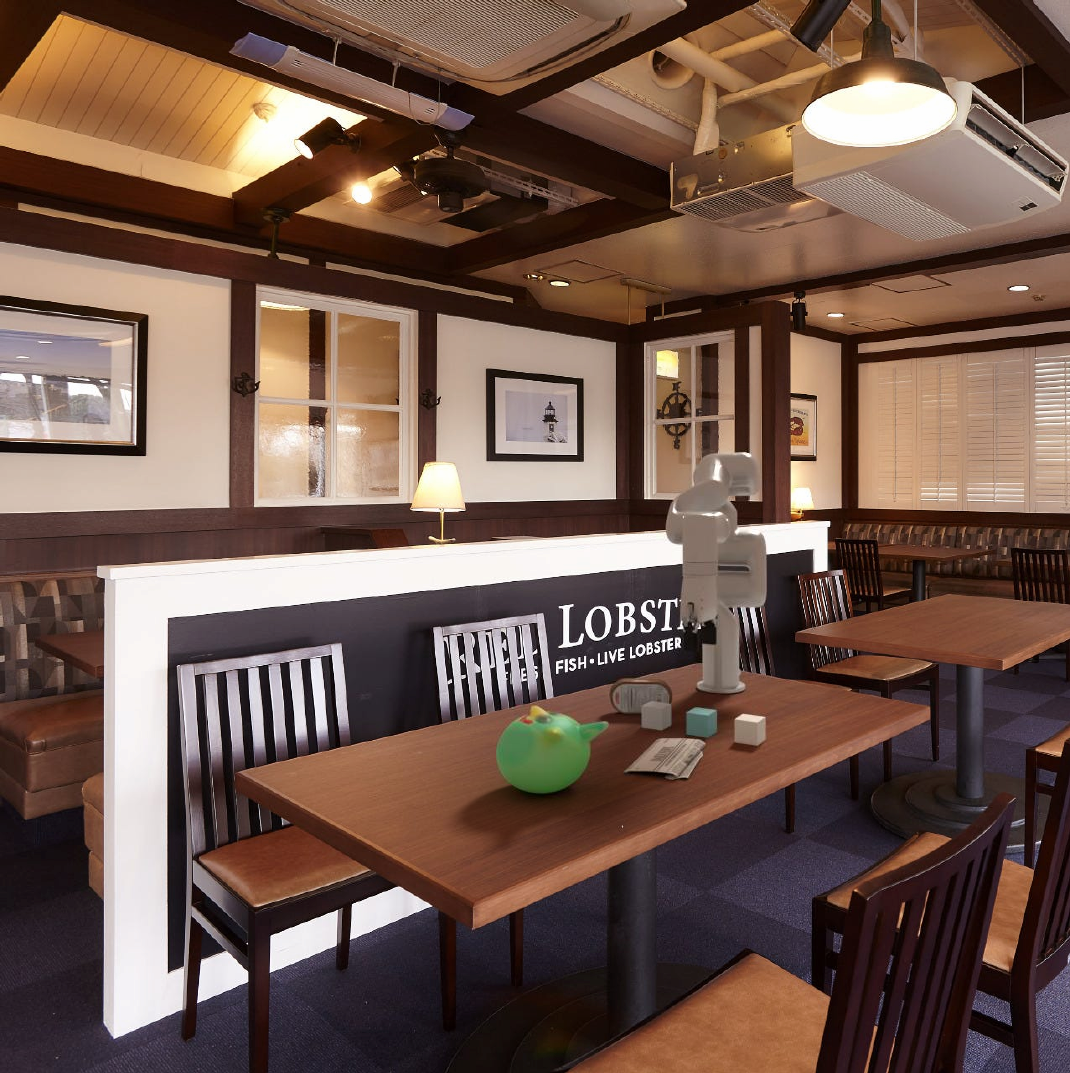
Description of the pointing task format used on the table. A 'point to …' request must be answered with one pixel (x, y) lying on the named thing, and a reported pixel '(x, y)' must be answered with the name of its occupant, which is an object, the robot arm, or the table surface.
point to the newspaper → (670, 757)
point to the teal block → (701, 722)
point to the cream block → (750, 729)
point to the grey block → (656, 715)
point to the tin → (638, 694)
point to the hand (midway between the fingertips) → (700, 647)
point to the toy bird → (545, 750)
